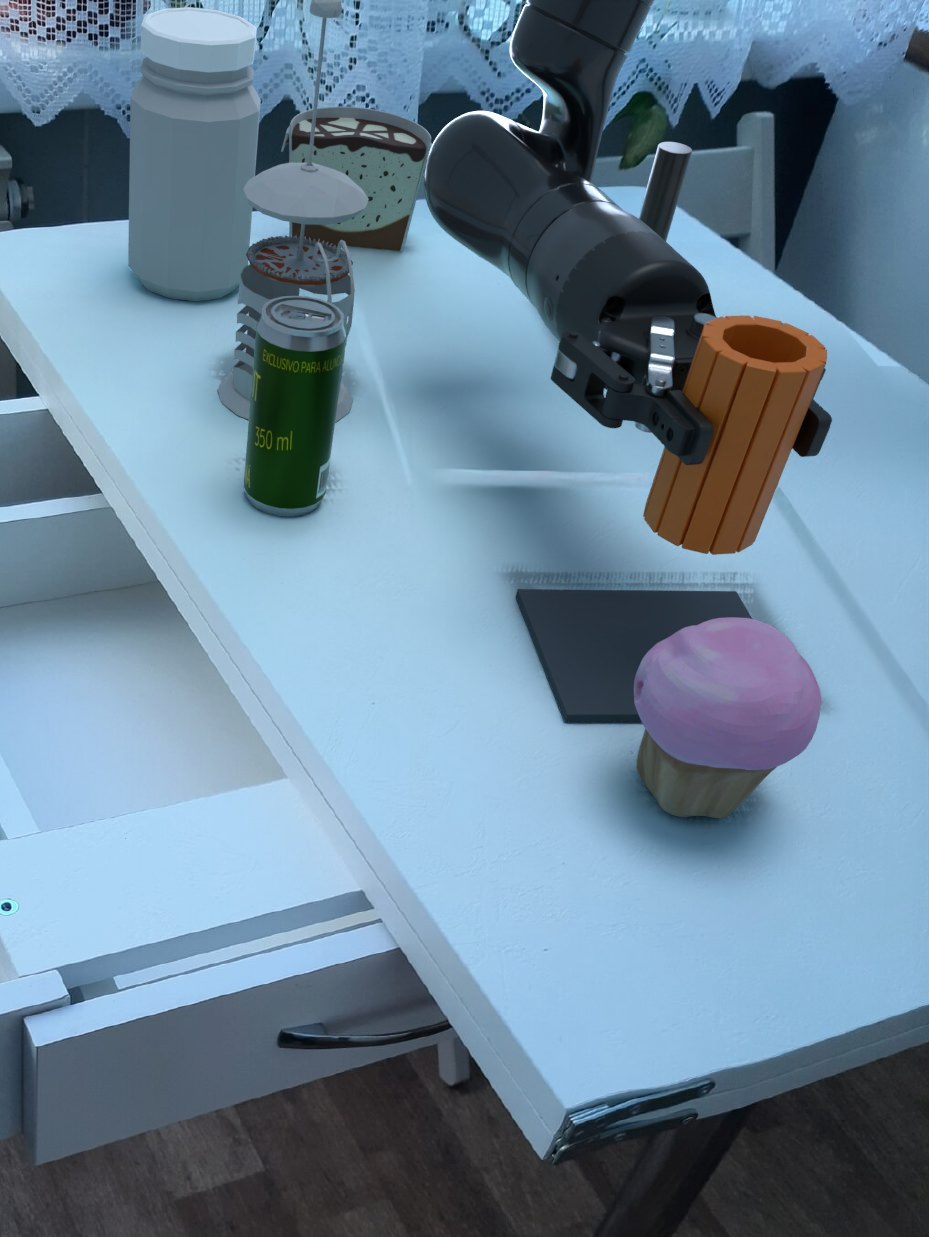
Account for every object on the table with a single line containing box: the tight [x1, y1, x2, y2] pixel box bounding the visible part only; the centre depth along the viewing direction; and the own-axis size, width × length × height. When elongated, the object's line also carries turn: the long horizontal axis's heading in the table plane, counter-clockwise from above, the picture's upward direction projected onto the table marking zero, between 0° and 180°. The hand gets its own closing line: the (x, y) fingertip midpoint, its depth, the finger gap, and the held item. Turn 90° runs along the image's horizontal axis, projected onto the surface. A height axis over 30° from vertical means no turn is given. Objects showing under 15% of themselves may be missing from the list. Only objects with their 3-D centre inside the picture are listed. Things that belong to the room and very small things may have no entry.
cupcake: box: [634, 617, 822, 819], centre depth 69 cm, size 9×9×10 cm
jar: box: [127, 6, 262, 302], centre depth 105 cm, size 10×10×18 cm
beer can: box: [243, 295, 347, 518], centre depth 86 cm, size 5×5×12 cm
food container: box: [280, 106, 433, 253], centre depth 115 cm, size 12×6×10 cm, turn 88°
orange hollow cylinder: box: [642, 315, 828, 556], centre depth 71 cm, size 6×6×10 cm
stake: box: [638, 141, 693, 242], centre depth 103 cm, size 10×10×15 cm
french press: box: [217, 0, 369, 423], centre depth 90 cm, size 10×12×25 cm
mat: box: [515, 588, 753, 724], centre depth 81 cm, size 14×12×1 cm
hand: (761, 443), depth 69 cm, fingers closed on orange hollow cylinder, 6 cm apart
